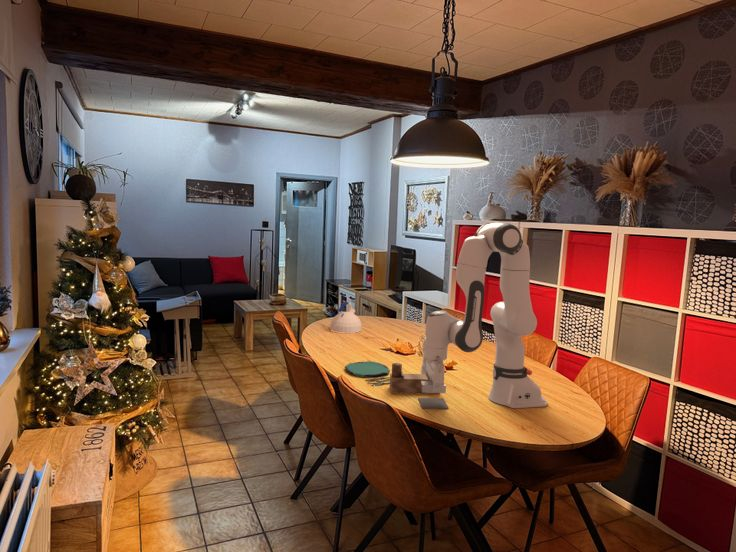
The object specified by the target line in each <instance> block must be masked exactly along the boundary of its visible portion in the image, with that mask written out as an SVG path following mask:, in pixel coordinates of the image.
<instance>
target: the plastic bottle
mask: <svg viewBox="0 0 736 552" xmlns="http://www.w3.org/2000/svg"><path fill="white" fill-rule="evenodd" d="M425 341H426V338H425V339H424V340H423V342H422V364H421V368H420V374H426V372H427V370H426V368H425V357H424V345H425Z"/></svg>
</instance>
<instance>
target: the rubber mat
mask: <svg viewBox="0 0 736 552" xmlns="http://www.w3.org/2000/svg"><path fill="white" fill-rule="evenodd" d="M417 400H418V402H419V405H420V407H421V406H422V407H421V408H422V410H424V409H425V410H449V409H450V408H449V406H448V404H447V402H446V401H445V399H444V398H443V397H418V398H417Z"/></svg>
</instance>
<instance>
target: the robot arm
mask: <svg viewBox="0 0 736 552" xmlns="http://www.w3.org/2000/svg"><path fill="white" fill-rule="evenodd" d="M522 238H523V236H522V234H521V231H520V229H519V228H518V227H517V226H516V225H514V224H512V223H508V222H507V223H505V222H493V223H491V222H490V223H489V222H488V223H486V224H485V223H484V224H483V225H481V226H480V227H478V229H477V230H476V232H475V234H474V235H473V236H469V237H467V238H466V239H464V242H463V244H462V246H461V249H460V251H459V256H458V259H457V264H456V269H455V280H456V283H457V284H458V286H459V287H460V288H461V290H462V291H463V293H464V296H465V301H466V302H465V310H464V311H465V312H464V319H463V320H462V319H461V318H457V317H455V316H453V315H451V314H450V313H449V312H448V311H446V310H434V311H431V312H430V313H428V315H427V317H426V322H425V330H424V332H425V333H424V334H425V335H424V336H425V339H426V341H425V340H424V341H425V345H424V357H425V368H426V370H427V372H428V374H429V380H430V381H433V386H432V390H433V391H437V390H438V385H439V384H443V383H445V364H444V361H445V360H447V359H448V350H449V349H448V348H449V347H448V346H449V344H453V345H454V346H456V347H457V348H459V350H460V351H462V352H464V353H472V352H475V351H477V350H478V349H479V348H480V347H481V346H482V343H483V340H484V334H483V333H484V332H483V328H482V321H483V313H484V304H485V292H486V291H485V278H486V271H487V267H488V260H489V258H490V257H491V255H492V253H494V252H496V253H498V254H499V255H500V260H501V261H500V272H499V273H500V276H499V277H500V278H499V289H500V292H501V295H502V300H503V301H498V302H496V303H495V304H493V305H492V306H491V309H490V314H489V315H490V318H491V320H492V324H493V330H494V339H495V358H494V359H495V360H494V364H493V368H492V378H493V379H492V383H491V388H490V392H489V394H488V400H490V401H492V402H493V403H495V404H498V405H502V406H506V407H509V408H511V409H524V408H538V407H539V408H541V407H547V406H548V401H547V400H546V398H544V396H542V390H541V388H540V386H539V385H538V384H537V383H536V382H535V381H534V380H533V379H531V377H529V376H532V374H533V371H532V370H531V369H530V368H528V367H526V366H525V365H524V364H525V352H526V351H525V350H526V347H525V344H524V342H523V337H524V336H525V337H527V336H529V335H531V334H533V333H534V332H535V331H536V329H537V326H538V320H537V317H536V315H535V313H534V310H533V306H532V300H531V295H530V293H531V291H530V276H531V256H530V255H531V253H530V249H529V248H530V247H529V245H528V244H527V243H526V242H524V241H523V239H522Z"/></svg>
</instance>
